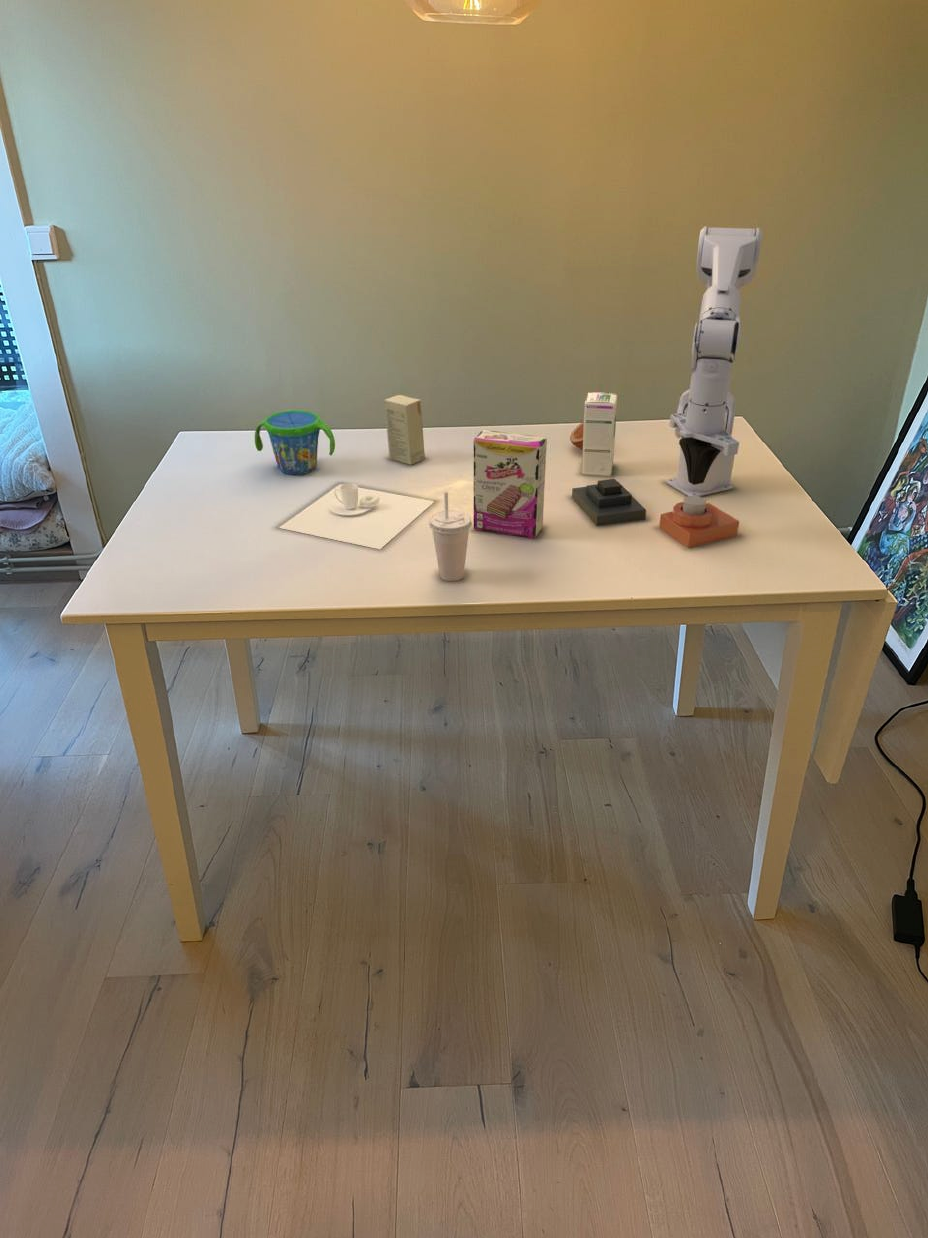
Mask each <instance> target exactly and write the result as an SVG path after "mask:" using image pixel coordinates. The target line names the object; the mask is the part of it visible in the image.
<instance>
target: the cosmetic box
mask: <svg viewBox="0 0 928 1238" xmlns="http://www.w3.org/2000/svg"><path fill="white" fill-rule="evenodd" d="M383 400H384V411H385V412H384V413H385V423H386V435H387V444H388V445H387V446H388V447H387V448H388V456H389V457H388V458H389V459H390V460H393V461H397V462H400V463H403V464H406V465H409V466H410V465H413V464H416V463H418V462H420V461H423V460H424V459H426V457H425V443H424V440H425V439H424V425H423V414H422V413H423V411H422V400H421V399H419V398H416V397H410V396H407V395H402V394H397V395H394V396H392V397H389V398H386V399H383Z"/></svg>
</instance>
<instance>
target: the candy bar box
mask: <svg viewBox="0 0 928 1238" xmlns="http://www.w3.org/2000/svg"><path fill="white" fill-rule="evenodd" d="M547 441H548V438H547V437H545V436H537V435H529V434H522V433H521V434H520V433H514V432H513V433H512V432H505V431H498V430H497V431H496V430H488V429H481V431H480V432H479V433H478V434H477V435H476V436H475V437H474V439H473V530H476V531H480V532H481V531H482V532H488V533H495V534H501V535H502V534H503V535H509V536H516V537H522V538H529V539H536V538H537V537H538V535H539V533H540V531H541V530H542V529H543V526H544V506H545V484H546V483H545V482H546V464H547V443H548V442H547Z"/></svg>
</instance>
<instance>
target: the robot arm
mask: <svg viewBox="0 0 928 1238" xmlns="http://www.w3.org/2000/svg"><path fill="white" fill-rule="evenodd" d="M699 231H700V232H699V238H698V243H697V244H698V245H697V252H696V273H695V275H696V276H697V278H696V279H697V281H698V282H700V283H702V284H704V286H706V288H707V289H706V290H705V292H704V293H703V296H702V299H701V307H700V313H699V319H698V321H697V322H695V325H694V330H693V338H692V345H691V356H692V357H691V377H690V385H689V389H687V390H685V391H683V392H682V395H681V396H680V397H679V402H678V403H679V404H678V406H677V412H676V413H673V414H672V413H671V414H670V418H669V427H671V428H673V429H674V436H675V437H676V439H679V441H678V445H679V447H680V448H679V456H678V465H677V471H676V477H675V478H669V479H666V480H665V483H666V484H667V485H669V486H670V487H672V488H674V489H675V490H677V491H679V492H680V493H682V494H684V495H685V496H686V497H688V496H699V497H703V496H707V495H711V494H717V493H720V492H725V491H730V490H732V489H733V487H734V486H733V485H732V484H731V481H732V475H733V474H732V473H733V467H734V461H735V455H738V453H739V446H740V441H738V440H736V439H735V438H734V437H733V436H732V435H733V430H734V429H733V428H734V422H735V415H736V400H735V396H734V395H733V394H732V393H731V392H730V391H729V390H730V383H731V376H732V370H733V364H734V362H735V361H736V358H737V356H738V353H739V345H740V338H741V331H742V327H741V326H742V325H741V317H740V312H741V304H742V295H741V292H740V289H741V287H744V286H747V285H749V284H751V283H752V282H753V278H755V275H756V271H757V267H758V265H759V258H760V253H761V246H762V240H763V231H762V230H761V228H760V227H756V228H746V227H745V228H743V227H741V228H740V227H710V226H709V227H708V225H707V226H705V225H704V226H703V227H702V228H701V230H699ZM731 354H732V355H733V358H732V356H731ZM733 361H734V362H733Z"/></svg>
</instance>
